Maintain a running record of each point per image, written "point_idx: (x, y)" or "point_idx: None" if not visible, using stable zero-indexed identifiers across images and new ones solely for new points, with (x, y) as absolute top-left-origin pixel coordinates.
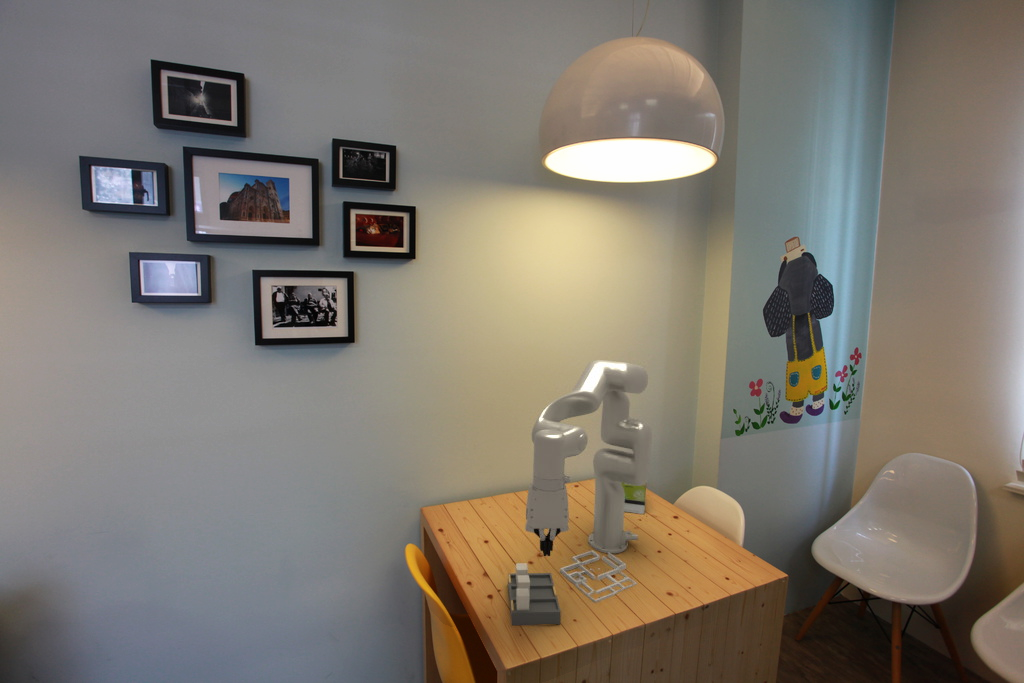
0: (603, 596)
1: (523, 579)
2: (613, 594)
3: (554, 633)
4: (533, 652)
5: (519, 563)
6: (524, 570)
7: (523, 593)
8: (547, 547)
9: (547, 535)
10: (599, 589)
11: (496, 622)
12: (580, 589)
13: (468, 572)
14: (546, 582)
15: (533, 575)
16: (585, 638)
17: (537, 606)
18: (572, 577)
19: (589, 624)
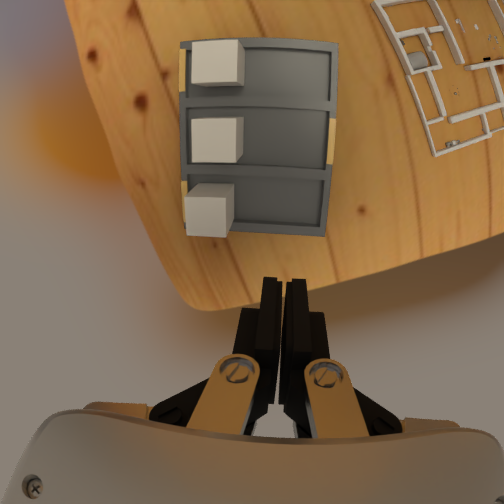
0: (459, 144)
1: (212, 144)
2: (481, 139)
3: (297, 248)
4: (239, 293)
5: (206, 41)
6: (223, 82)
7: (206, 223)
8: (280, 368)
9: (289, 385)
10: (460, 115)
11: (159, 202)
12: (414, 97)
13: (92, 15)
14: (314, 78)
15: (271, 47)
16: (363, 269)
17: (263, 193)
18: (404, 37)
19: (390, 229)
